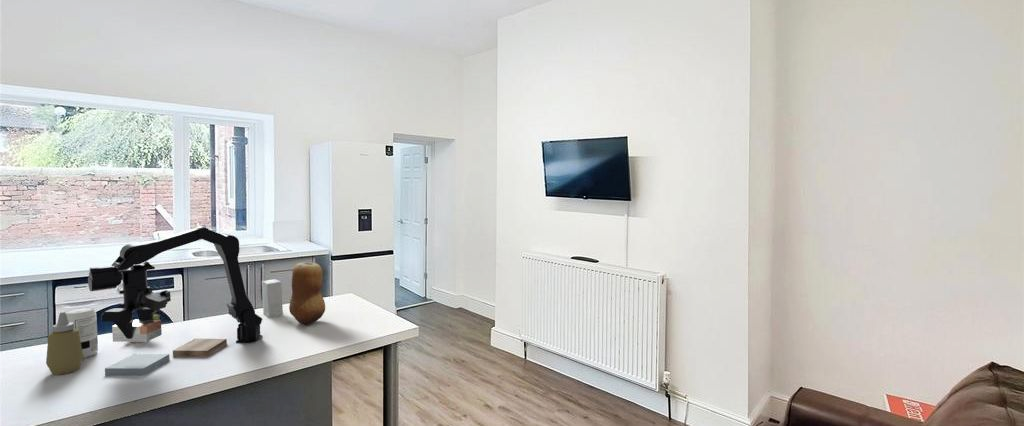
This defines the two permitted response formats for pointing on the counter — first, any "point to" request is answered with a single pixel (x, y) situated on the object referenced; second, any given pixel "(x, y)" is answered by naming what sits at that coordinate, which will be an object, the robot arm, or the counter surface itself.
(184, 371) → the counter surface
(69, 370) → the squeeze bottle
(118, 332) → the block
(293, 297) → the butternut squash
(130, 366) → the slate stand
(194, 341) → the walnut stand
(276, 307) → the skincare box
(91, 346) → the supplement can
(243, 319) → the robot arm
